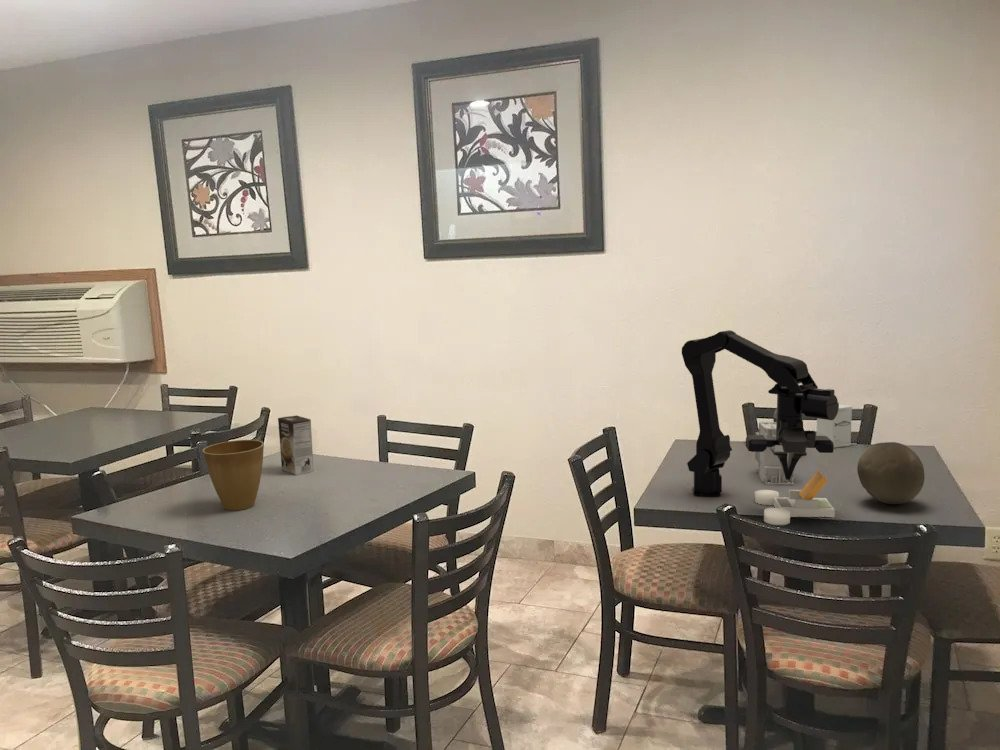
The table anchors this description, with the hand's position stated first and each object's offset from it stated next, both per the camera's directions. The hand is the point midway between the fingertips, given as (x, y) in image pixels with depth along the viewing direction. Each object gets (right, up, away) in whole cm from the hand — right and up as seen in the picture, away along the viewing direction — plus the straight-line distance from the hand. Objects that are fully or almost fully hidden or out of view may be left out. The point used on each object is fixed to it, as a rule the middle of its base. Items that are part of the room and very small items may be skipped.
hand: (787, 479), depth 189 cm
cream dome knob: (-2, -7, +8) cm, 11 cm away
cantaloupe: (+26, -7, +4) cm, 27 cm away
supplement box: (+37, +2, +63) cm, 73 cm away
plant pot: (-135, -10, +19) cm, 137 cm away
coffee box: (-128, -5, +53) cm, 139 cm away
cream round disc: (-4, -9, -6) cm, 11 cm away
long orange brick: (+4, -4, 0) cm, 6 cm away
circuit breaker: (+7, -3, +30) cm, 31 cm away
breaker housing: (+4, -8, 0) cm, 9 cm away
